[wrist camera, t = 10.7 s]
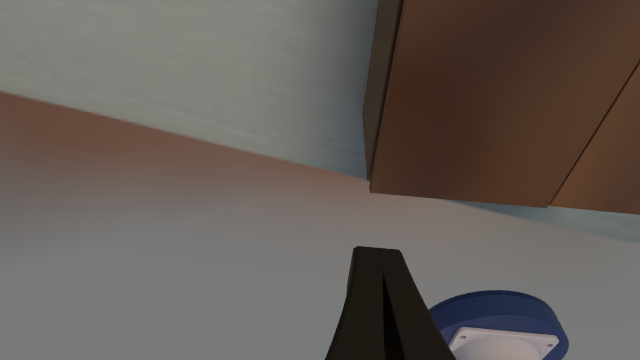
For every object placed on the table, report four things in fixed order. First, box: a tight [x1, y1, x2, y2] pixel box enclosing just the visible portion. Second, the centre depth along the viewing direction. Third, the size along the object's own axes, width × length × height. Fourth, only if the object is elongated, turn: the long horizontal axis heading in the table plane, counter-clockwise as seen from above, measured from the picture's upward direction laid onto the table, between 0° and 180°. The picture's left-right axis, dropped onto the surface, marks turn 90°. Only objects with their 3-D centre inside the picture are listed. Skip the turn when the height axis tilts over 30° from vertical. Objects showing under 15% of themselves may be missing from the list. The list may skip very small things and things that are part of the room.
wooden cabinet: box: [363, 0, 640, 208], centre depth 12 cm, size 14×12×7 cm
